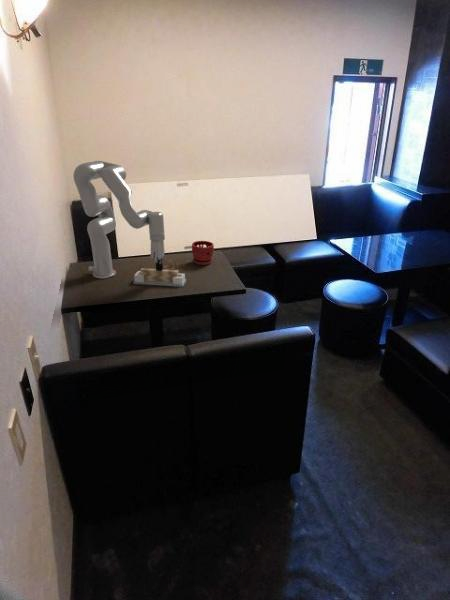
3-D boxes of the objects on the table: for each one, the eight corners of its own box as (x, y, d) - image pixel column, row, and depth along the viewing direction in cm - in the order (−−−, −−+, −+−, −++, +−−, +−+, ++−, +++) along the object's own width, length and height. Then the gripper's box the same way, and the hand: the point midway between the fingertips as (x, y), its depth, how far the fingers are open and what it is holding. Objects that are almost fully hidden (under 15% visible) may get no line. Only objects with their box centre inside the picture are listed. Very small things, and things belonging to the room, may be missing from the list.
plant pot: (193, 267, 240) (193, 247, 235) (191, 259, 252) (190, 240, 247) (215, 265, 243) (215, 246, 237) (211, 258, 254) (211, 239, 249)
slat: (141, 280, 219) (140, 269, 216) (142, 278, 221) (141, 268, 218) (177, 282, 216) (177, 271, 214) (178, 280, 218) (178, 270, 216)
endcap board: (133, 283, 217) (132, 275, 215) (138, 278, 224) (137, 270, 222) (182, 286, 213) (182, 278, 212) (186, 280, 221) (186, 273, 219)
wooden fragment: (180, 275, 229) (180, 273, 229) (160, 275, 228) (160, 274, 228) (181, 259, 252) (181, 258, 252) (163, 260, 252) (163, 258, 251)
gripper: (154, 232, 215) (156, 265, 223) (145, 240, 202) (148, 275, 210) (168, 233, 214) (170, 265, 222) (160, 241, 201) (162, 275, 209)
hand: (159, 270), depth 216 cm, fingers closed
